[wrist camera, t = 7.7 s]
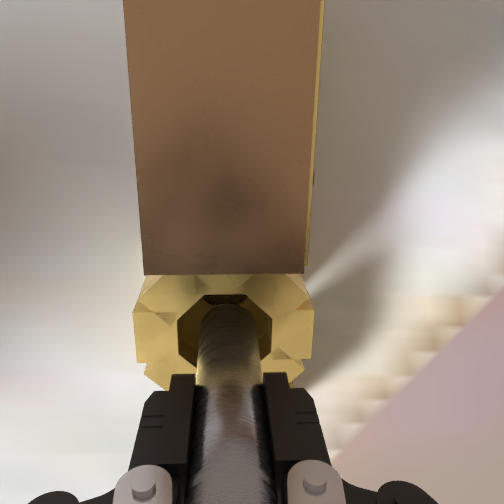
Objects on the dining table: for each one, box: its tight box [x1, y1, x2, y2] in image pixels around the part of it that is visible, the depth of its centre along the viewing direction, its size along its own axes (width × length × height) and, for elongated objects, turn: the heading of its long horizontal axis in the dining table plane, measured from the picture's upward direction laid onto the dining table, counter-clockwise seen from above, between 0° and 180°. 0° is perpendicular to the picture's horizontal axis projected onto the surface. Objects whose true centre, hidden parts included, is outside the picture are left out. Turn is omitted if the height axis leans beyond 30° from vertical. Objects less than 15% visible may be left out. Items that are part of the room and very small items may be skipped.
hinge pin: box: [184, 304, 278, 504], centre depth 12 cm, size 4×4×12 cm
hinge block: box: [123, 0, 325, 391], centre depth 19 cm, size 22×7×8 cm, turn 179°
